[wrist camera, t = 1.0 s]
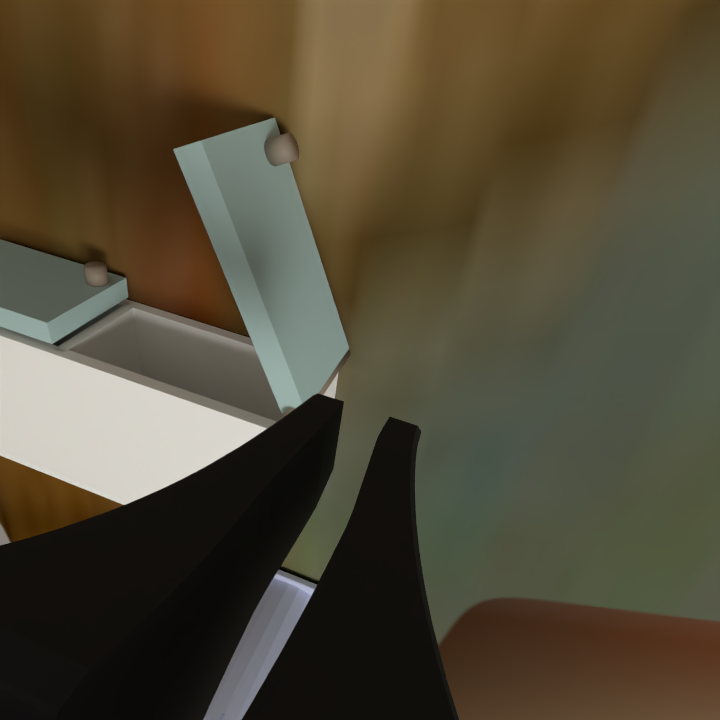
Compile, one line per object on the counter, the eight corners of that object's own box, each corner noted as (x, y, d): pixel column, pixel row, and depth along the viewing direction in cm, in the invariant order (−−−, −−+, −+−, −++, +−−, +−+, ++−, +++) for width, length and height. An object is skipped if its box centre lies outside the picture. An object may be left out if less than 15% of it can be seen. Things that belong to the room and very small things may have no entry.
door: (333, 359, 23) (284, 429, 19) (253, 124, 19) (168, 150, 15) (371, 356, 22) (328, 428, 18) (297, 110, 18) (220, 134, 14)
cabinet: (321, 489, 28) (279, 567, 24) (38, 386, 31) (-41, 439, 27) (345, 325, 22) (295, 391, 18) (-5, 220, 25) (-113, 257, 21)
